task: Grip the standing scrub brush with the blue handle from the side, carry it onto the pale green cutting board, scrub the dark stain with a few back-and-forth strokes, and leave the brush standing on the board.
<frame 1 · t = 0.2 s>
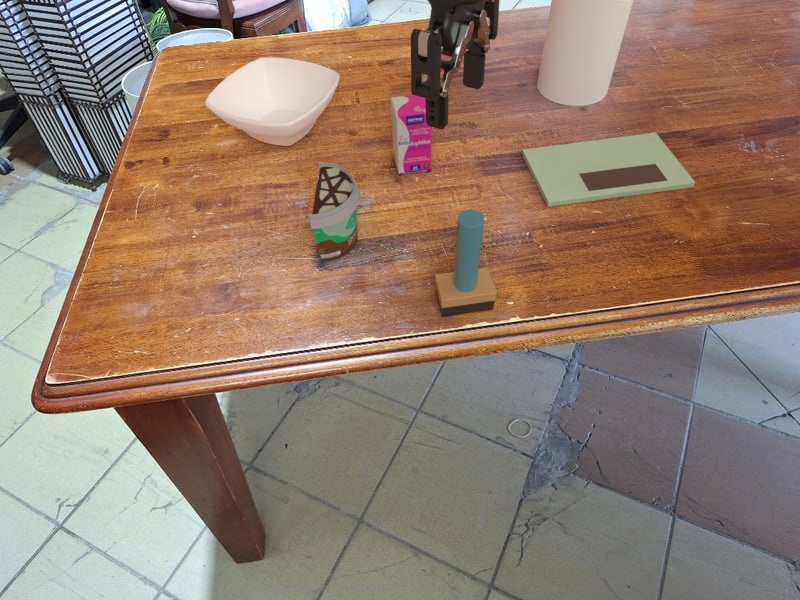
hand: (455, 105, 57), 25 cm above the table, tool pointing down, fingers open, 8 cm apart
bowl: (283, 131, 99), on the table
food container: (345, 239, 80), on the table
supplement box: (412, 165, 91), on the table
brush: (464, 300, 71), on the table
board: (603, 170, 88), on the table
canister: (571, 88, 104), on the table
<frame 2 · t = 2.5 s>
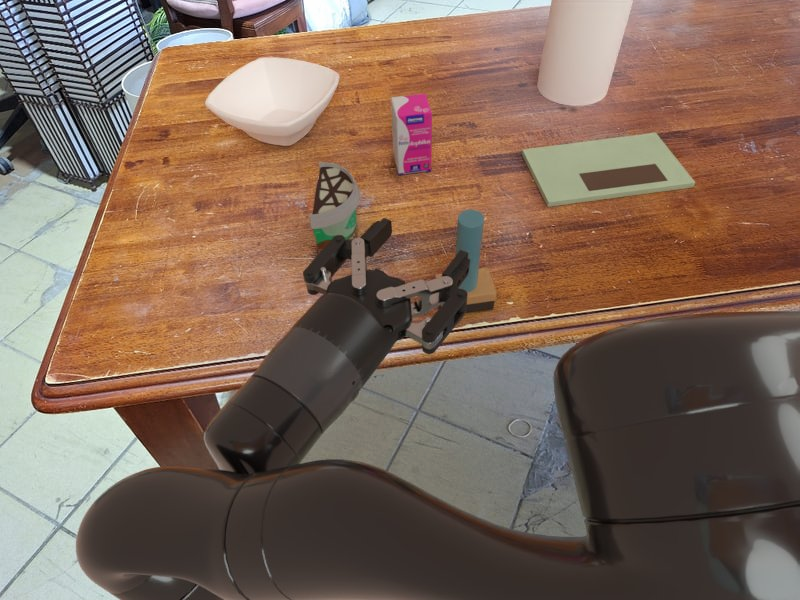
hand: (425, 240, 51), 20 cm above the table, tool horizontal, fingers open, 8 cm apart
nothing on the table moved.
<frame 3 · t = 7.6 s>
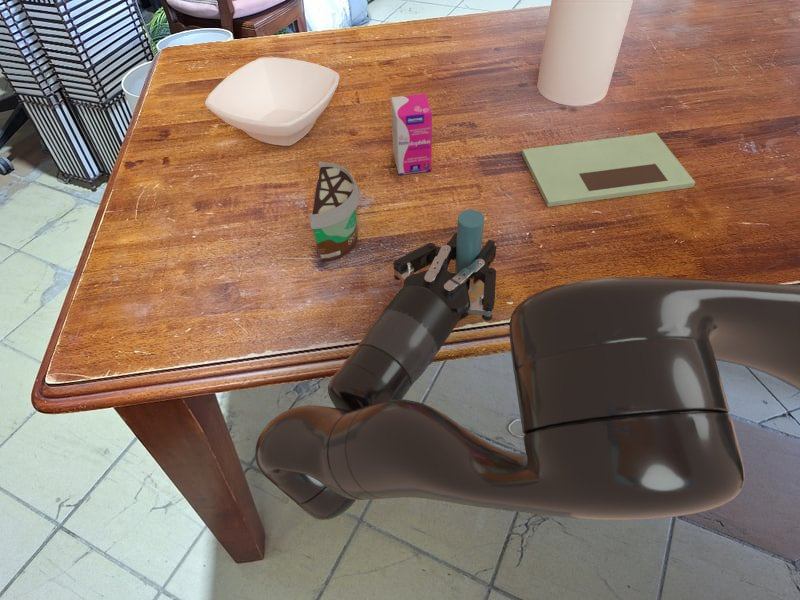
hand: (478, 240, 66), 9 cm above the table, tool horizontal, fingers closed on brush, 3 cm apart
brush: (463, 300, 71), on the table, touching gripper
everything else where it was.
when the fingers open (10 cm above the table, at t = 20.0 s): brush stays where it is, resting on board.
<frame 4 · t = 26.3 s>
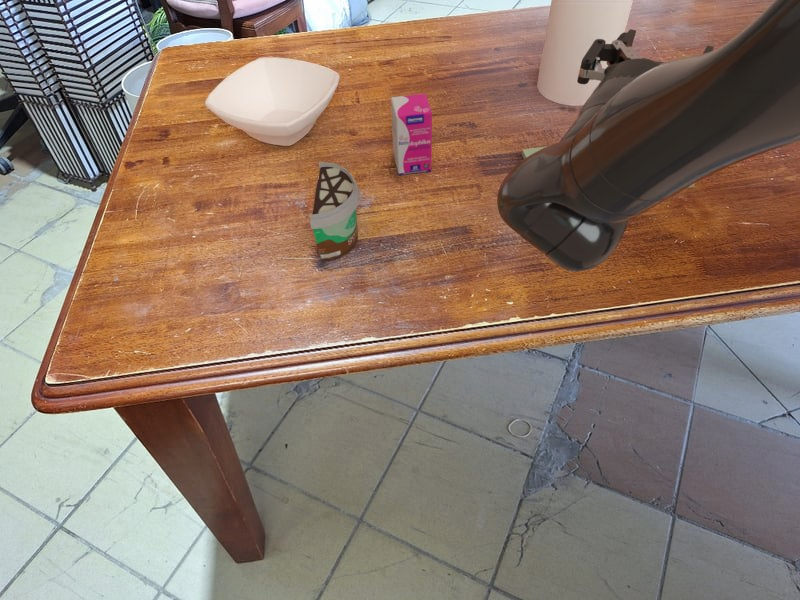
hand: (668, 45, 61), 26 cm above the table, tool horizontal, fingers open, 8 cm apart
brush: (629, 174, 85), point 1 cm above the table, touching board
everything else where it was.
at the end: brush inside the target area on the board (4.3 cm from its centre), point 1.0 cm above the board's base; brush tilted 0°; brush moved 37.4 cm from its start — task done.
